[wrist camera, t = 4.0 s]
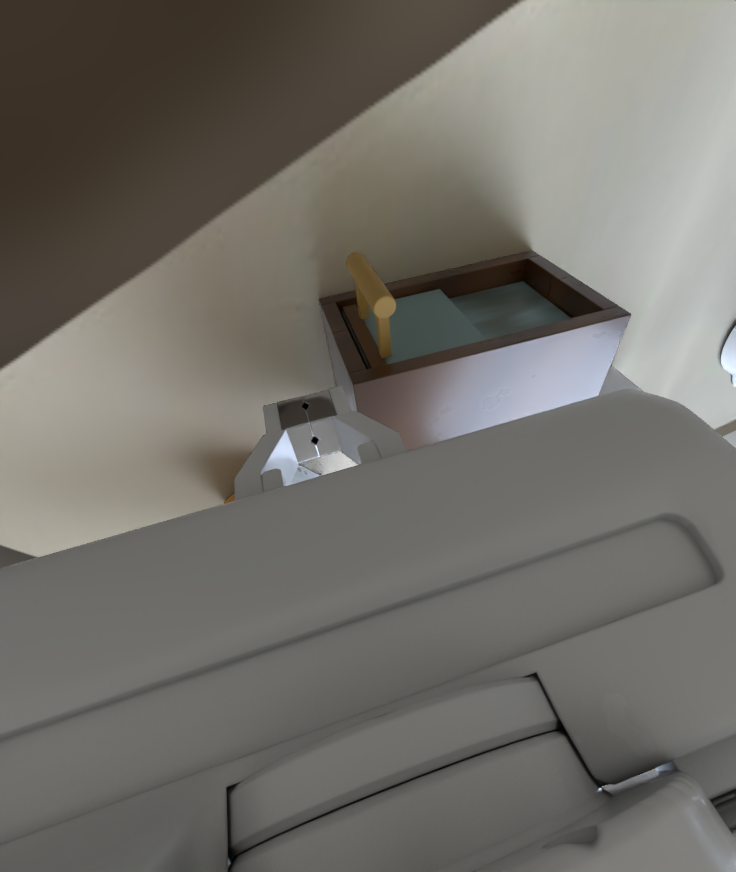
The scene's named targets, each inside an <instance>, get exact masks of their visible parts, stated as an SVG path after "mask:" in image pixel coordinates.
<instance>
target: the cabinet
mask: <svg viewBox="0 0 736 872" xmlns="http://www.w3.org/2000/svg"><path fill="white" fill-rule="evenodd" d="M384 285H385V286H386V288H387V289H388V291H389V292H390V294H391V295H392V296H393V298H394V299H398V298H403V297H407V296H411V295H415V294H420V293H424V292H428V291H433V290H437V289H440V290H441V291H442V292H443V293H444V294H445V295H446V296H447V297H448V298H449V300H450V301H451V302H452V303H453V304H454V305H455V306H456V307H457V308H458V309H459V310H460V311H461V313H462V314H463V315H464V316H465V317H466V318H467V319H468V320H469V321H470V322H471V323H472V324H473V326H474V327H475V328H476V329H477V330H478V331H479V332H480V333H481V334H482V335H483V336H484V337H485V339H486V340H483V341H479V342H475V343H471V344H467V345H463V346H459V347H455V348H451V349H447V350H443V351H439V352H435V353H431V354H427V355H423V356H419V357H415V358H411V359H407V360H403V361H399V362H395V363H391V364H387V365H383V366H379V367H375V368H371V369H367V370H366V364H365V362H364V360H363V358H362V356H361V354H360V352H359V349H358V347H357V345H356V343H355V341H354V339H353V337H352V334H351V332H350V330H349V328H348V326H347V324H346V322H345V319H344V317H343V313H342V312H343V309H342V307H345V306H349V305H354V304H355V305H356V307H357V308H358V304H357V297H356V291H352V292H347V293H343V294H339V295H334V296H330V297H325V298H321V299H319V305H320V310H321V315H322V319H323V324H324V329H325V334H326V339H327V344H328V349H329V353H330V358H331V363H332V368H333V373H334V378H335V383H336V386H340V385H341V386H342V388H343V390H344V393H345V395H346V398H347V401H348V403H349V406H350V408H351V411H357V412H359V413H361V414H363V415H365V416H367V417H369V418H371V419H373V420H375V421H377V422H378V423H380V424H382V425H384V426H386V427H388V428H390V429H392V430H394V431H396V432H398V433H399V435H400V437H401V439H402V441H403V443H404V445H405V447H406V449H407V451H409V450H412V449H416V448H419V447H423V446H426V445H430V444H433V443H437V442H440V441H443V440H447V439H450V438H454V437H457V436H461V435H464V434H468V433H471V432H475V431H478V430H482V429H485V428H488V427H492V426H495V425H499V424H502V423H506V422H509V421H513V420H516V419H520V418H523V417H527V416H530V415H533V414H537V413H540V412H544V411H547V410H551V409H554V408H558V407H561V406H565V405H568V404H571V403H575V402H578V401H582V400H585V399H589V398H592V397H595V396H598V395H599V392H600V390H601V388H602V385H603V383H604V380H605V378H606V375H607V373H608V370H609V368H610V365H611V363H612V361H613V358H614V356H615V353H616V351H617V348H618V346H619V343H620V341H621V338H622V336H623V334H624V331H625V329H626V326H627V324H628V321H629V319H630V316H631V313H629V312H627V311H626V310H624V309H623V308H621V307H618V305H617V304H615V303H614V302H612V301H610V300H609V299H607V298H606V297H604V296H603V295H601V294H599V293H598V292H596V291H595V290H593V289H592V288H590V287H589V286H587V285H585V284H584V283H582V282H581V281H579V280H578V279H576V278H575V277H573V276H571V275H570V274H568V273H567V272H565V271H564V270H562V269H561V268H559V267H557V266H556V265H554V264H553V263H551V262H550V261H548V260H547V259H545V258H543V257H542V256H540V255H539V254H537V253H536V252H534V251H529V252H524V253H520V254H515V255H511V256H507V257H502V258H498V259H493V260H489V261H484V262H480V263H476V264H471V265H467V266H462V267H458V268H454V269H449V270H445V271H440V272H436V273H431V274H427V275H423V276H418V277H414V278H409V279H405V280H401V281H396V282H392V283H387V284H384Z"/></svg>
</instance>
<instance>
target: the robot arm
mask: <svg viewBox="0 0 736 872" xmlns="http://www.w3.org/2000/svg"><path fill="white" fill-rule="evenodd" d="M721 364H722V367H723V368H724V370H726V371H727V372H729V373H731V374H732V376H733V378H732V382H733V385H734V386H735V387H736V326H735V327H734V329H733V330H732V332H731V333H730V335H729V337H728V339H727V341H726V343H725V345H724V347H723V350H722V354H721ZM263 412H264V419H265V426H266V433H267V434H266V435H263V436H262V438H261V439H260V441H259V442H258V444H257V445H256V447H255V448H254V450H253V451H252V453H251V454H250V456H249V457H248V459H247V460H246V462H245V463H244V465H243V466H242V468H241V469H240V471H239V472H238V474H237V475H236V477H235V478H234V492H235V501H232V502H229V503H225V504H222V505H218V506H215V507H211V508H208V509H204V510H201V511H198V512H194V513H191V514H187V515H184V516H180V517H177V518H173V519H170V520H166V521H163V522H159V523H156V524H152V525H149V526H146V527H142V528H139V529H135V530H132V531H128V532H125V533H121V534H118V535H114V536H111V537H107V538H104V539H101V540H97V541H94V542H90V543H87V544H83V545H80V546H76V547H73V548H69V549H66V550H62V551H59V552H55V553H52V554H49V555H45V556H42V557H38V558H35V559H32V560H28V561H24V562H21V563H17V564H14V565H10V566H7V567H4V568H0V872H736V448H735V447H733V446H732V445H731V444H730V443H729V442H728V441H726V440H725V439H724V438H723V437H722V436H721V435H720V434H718V433H717V432H716V431H715V430H714V429H713V428H711V427H710V426H709V425H708V424H707V423H705V422H704V421H703V420H702V419H701V418H699V417H698V416H697V415H696V414H694V413H693V412H692V411H691V410H689V409H688V408H686V407H685V406H683V405H682V404H680V403H678V402H676V401H673V400H670V399H667V398H664V397H660V396H657V395H653V394H650V393H646V392H643V391H638V390H634V389H621V390H616V391H613V392H609V393H606V394H602V395H599V396H595V397H592V398H589V399H585V400H582V401H578V402H575V403H571V404H568V405H565V406H561V407H558V408H554V409H551V410H547V411H544V412H540V413H537V414H533V415H530V416H527V417H523V418H520V419H516V420H513V421H509V422H506V423H502V424H499V425H495V426H492V427H488V428H485V429H482V430H478V431H475V432H471V433H468V434H464V435H461V436H457V437H454V438H450V439H447V440H443V441H440V442H437V443H433V444H430V445H426V446H423V447H419V448H416V449H412V450H409V451H407V449H406V447H405V445H404V443H403V441H402V439H401V437H400V435H399V433H398V432H396V431H394V430H392V429H390V428H388V427H386V426H384V425H382V424H380V423H378V422H377V421H375V420H373V419H371V418H369V417H367V416H365V415H363V414H361V413H359V412H357V411H351V408H350V406H349V403H348V401H347V398H346V395H345V393H344V390H343V388H342V386H341V385H340V386H336V387H333V388H330V389H328V390H324V391H320V392H316V393H313V394H309V395H305V396H301V397H296V398H292V399H288V400H284V401H280V402H277V403H272V404H268V405H264V406H263ZM341 451H342V453H343V454H345V455H346V456H347V457H349V458H350V459H351V460H353V461H354V462H355V463H357V464H358V465H357V466H353V467H350V468H347V469H343V470H340V471H336V472H333V473H329V474H326V475H322V476H319V477H315V478H312V479H308V480H305V481H302V482H298V483H295V484H291V482H292V480H293V477H294V475H295V472H296V470H297V468H298V465H299V463H302V462H305V461H308V460H312V459H315V458H318V457H322V456H326V455H329V454H333V453H337V452H341ZM290 484H291V485H290ZM654 768H655V769H656V771H657V772H651V773H647V774H643V775H640V774H642V773H644V772H647V771H650V770H652V769H654ZM638 775H639V776H638ZM605 785H607V786H605ZM602 786H605V787H602Z"/></svg>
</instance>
